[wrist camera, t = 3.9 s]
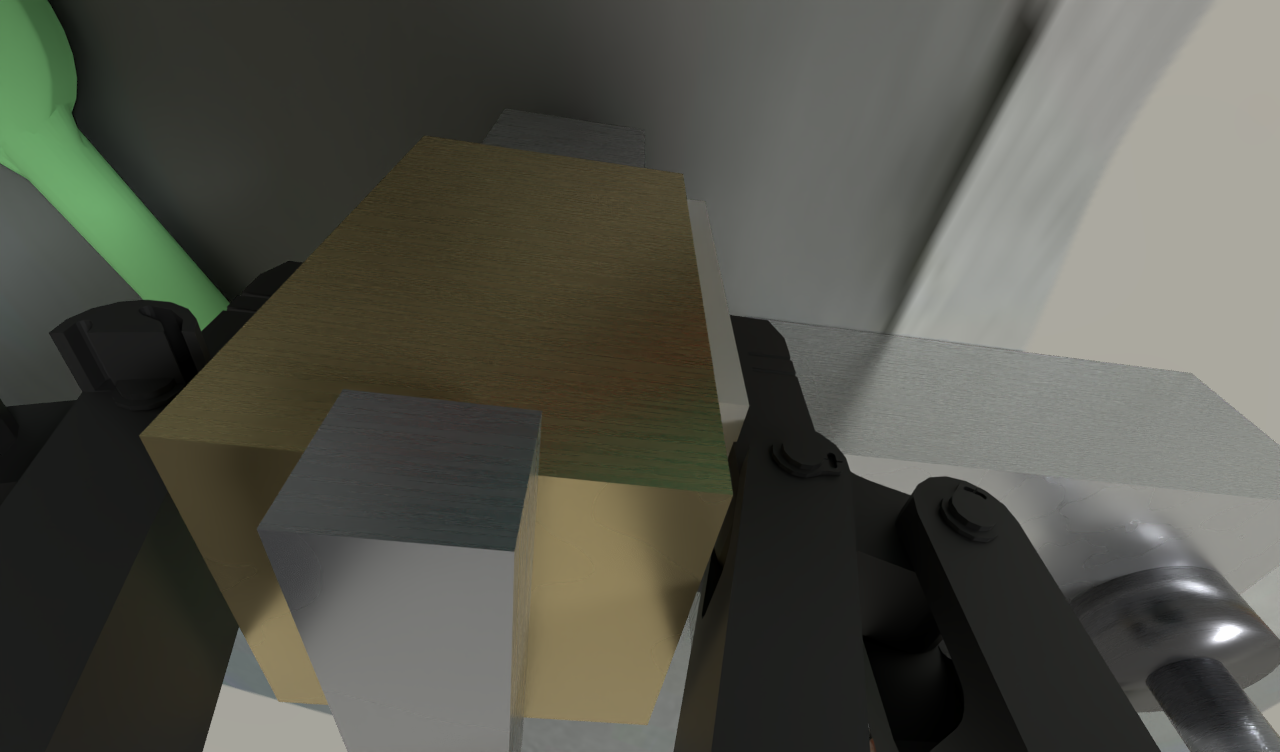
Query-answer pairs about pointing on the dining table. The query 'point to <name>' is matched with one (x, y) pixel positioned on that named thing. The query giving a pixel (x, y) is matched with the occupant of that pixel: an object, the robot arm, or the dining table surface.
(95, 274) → the dining table surface
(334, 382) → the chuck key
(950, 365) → the block
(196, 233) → the dining table surface
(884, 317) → the dining table surface
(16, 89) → the wrench
